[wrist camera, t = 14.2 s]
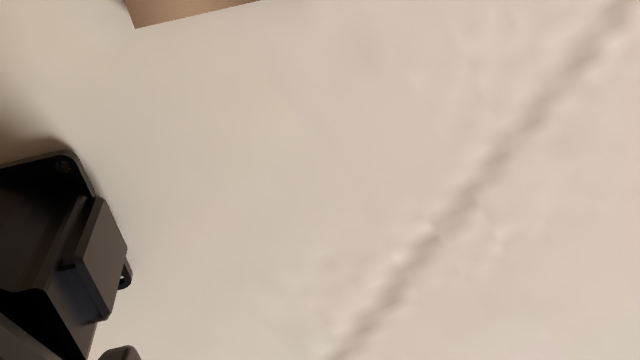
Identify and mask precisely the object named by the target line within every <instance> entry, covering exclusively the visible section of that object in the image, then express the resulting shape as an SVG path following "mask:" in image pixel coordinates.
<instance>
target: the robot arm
mask: <svg viewBox="0 0 640 360" xmlns="http://www.w3.org/2000/svg"><path fill="white" fill-rule="evenodd" d="M59 161H65V162H68V163H69V165H70V168H63V167H61V166H60V165H59ZM126 253H127V245H126V243H125V241H124V239H123V237H122V235H121V233H120V230H119V228H118V226H117V224H116V222H115V220H114V217H113V215H112V213H111V211H110V209H109V207H108V205H107V202H106V200H105V199H103V198H101V197H100V196H96V194H95V192H94V189H93V187H92V185H91V183H90V181H89V179H88V177H87V175H86V172H85V170H84V168H83V166H82V164H81V162H80V160H79V158H78V157H77V155H76V154H74V153H73V152H71V151H67V150H60V151H55V152H51V153H47V154H43V155H39V156H34V157H30V158H26V159H22V160H18V161H13V162H9V163H5V164H1V165H0V360H87V359H88V355H89V352H90V348H91V345H92V341H93V337H94V334H95V330H96V326H97V323H98V322H101V321H105V320H107V319H108V317H109V316H110V314H111V313H112V309H113V305H114V301H115V297H116V293H117V290H121V289H124V288H126V287H128V286H129V285H130V284H131V280H132V276H133V273H132V270H131V268H130V266H129V264H128V261H127V259H126ZM121 276H123V277H124V278H123V279H120V277H121ZM98 360H141V358H140V356H139V354H138V352H137V350H136V349H135V348H134V347H133V346H130V345H127V346H123V347H119V348H114V349H110V350H108V351H106V352H104V353H103V354H102V355H101V357H100V358H99V359H98Z"/></svg>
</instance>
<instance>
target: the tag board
mask: <svg viewBox="0 0 640 360" xmlns="http://www.w3.org/2000/svg"><path fill="white" fill-rule="evenodd" d="M255 1H259V0H125V2H126V5H127V8H128V11H129V14H130V16H131V19H132V22H133V25H134V27H135V29H136V28H141V27H145V26H150V25H154V24H158V23H163V22H167V21H172V20H176V19H180V18H185V17H189V16H194V15H198V14H202V13H207V12H211V11H216V10H220V9H224V8H229V7H233V6H237V5H242V4H246V3H251V2H255Z"/></svg>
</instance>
